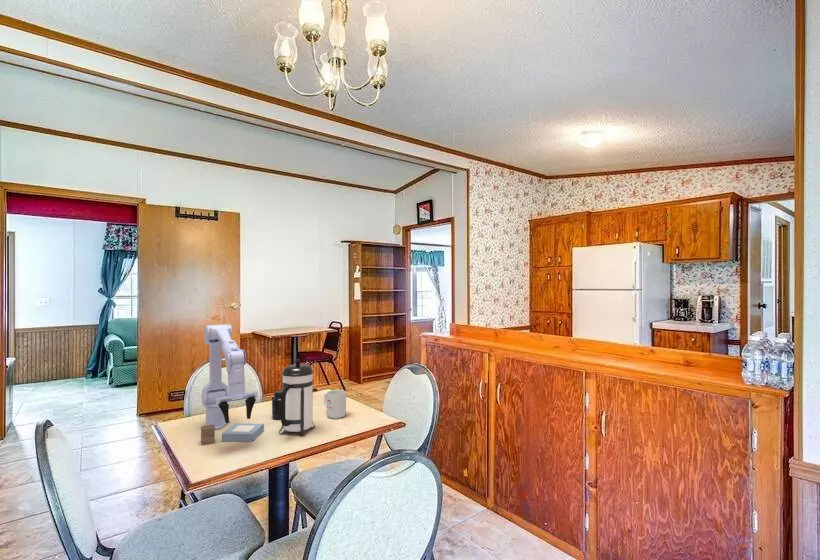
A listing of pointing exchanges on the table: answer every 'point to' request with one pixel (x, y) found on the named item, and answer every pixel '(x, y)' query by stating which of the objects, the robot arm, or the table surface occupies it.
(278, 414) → the supplement bottle
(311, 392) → the coffee press
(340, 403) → the mug
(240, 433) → the slate plinth
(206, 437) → the walnut block
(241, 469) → the table surface
